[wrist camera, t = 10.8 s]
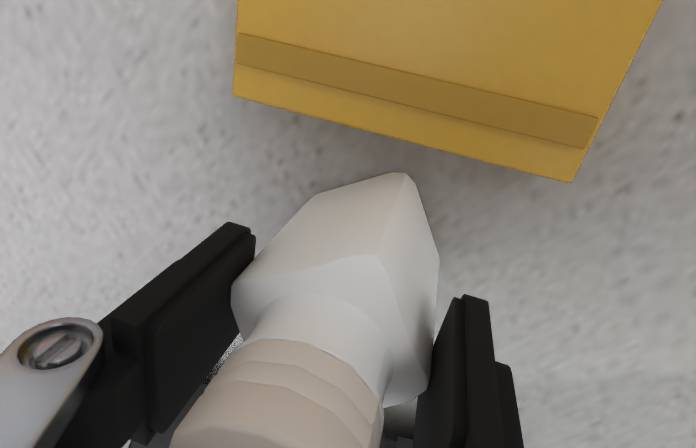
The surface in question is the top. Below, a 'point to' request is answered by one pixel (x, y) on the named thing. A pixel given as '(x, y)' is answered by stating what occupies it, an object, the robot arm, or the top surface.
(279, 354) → the salt shaker
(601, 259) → the top surface
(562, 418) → the top surface
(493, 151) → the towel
